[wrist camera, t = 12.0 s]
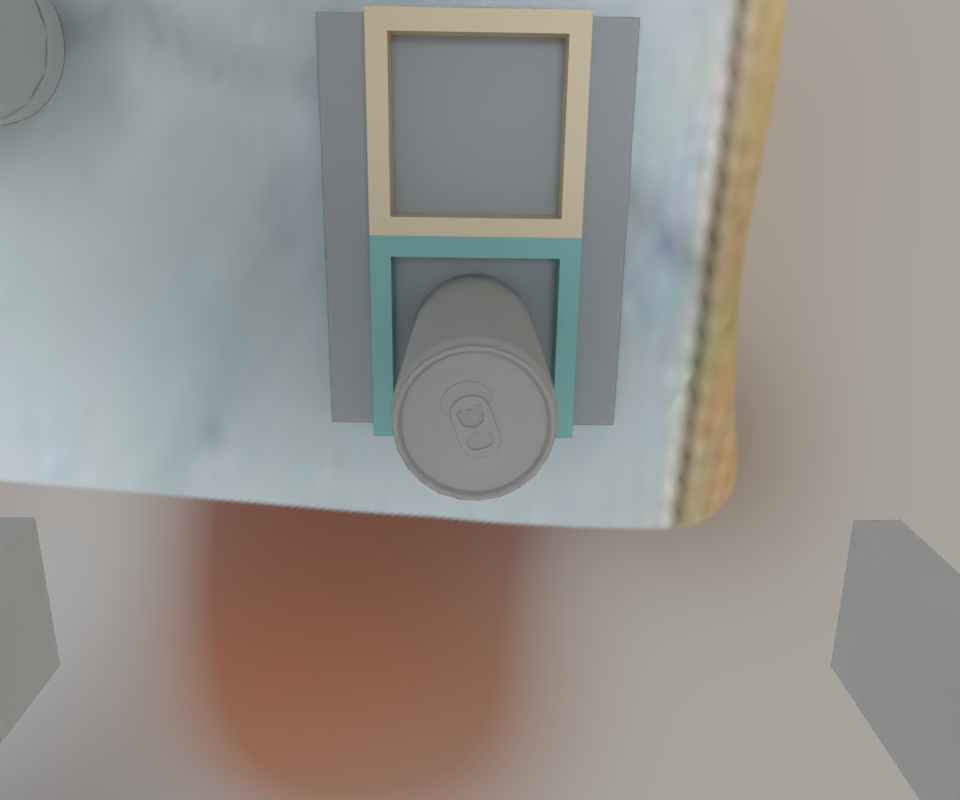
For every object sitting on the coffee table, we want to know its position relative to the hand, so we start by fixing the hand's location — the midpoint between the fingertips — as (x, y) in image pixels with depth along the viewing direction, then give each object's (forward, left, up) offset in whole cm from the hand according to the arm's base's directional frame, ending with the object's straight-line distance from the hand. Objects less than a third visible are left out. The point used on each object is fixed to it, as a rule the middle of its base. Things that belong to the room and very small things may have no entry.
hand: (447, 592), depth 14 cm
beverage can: (+1, 0, -22) cm, 22 cm away
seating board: (-3, 0, -23) cm, 23 cm away
